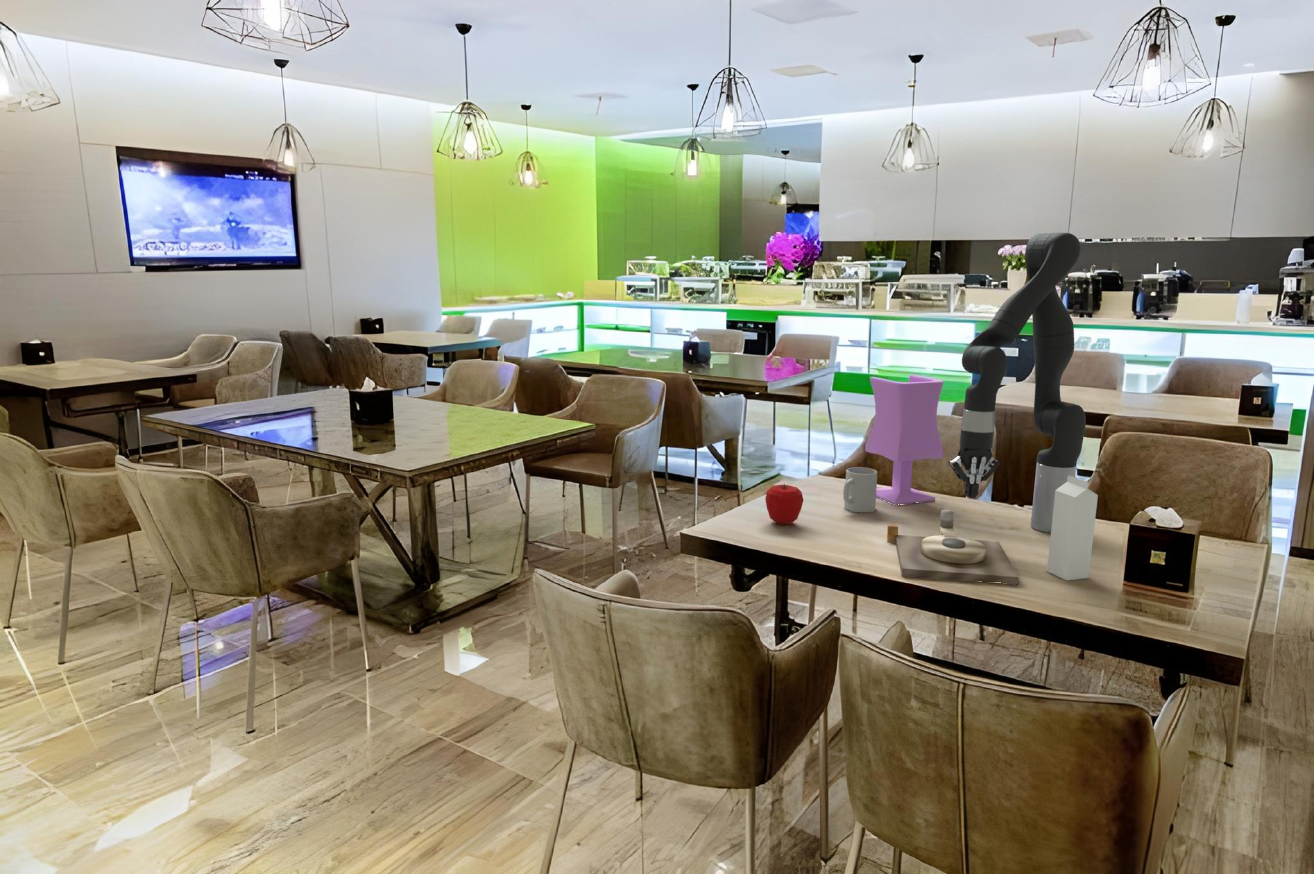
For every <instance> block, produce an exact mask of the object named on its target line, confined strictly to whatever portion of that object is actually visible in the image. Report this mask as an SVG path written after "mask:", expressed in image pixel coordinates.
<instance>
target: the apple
mask: <svg viewBox="0 0 1314 874" xmlns="http://www.w3.org/2000/svg"><path fill="white" fill-rule="evenodd" d="M764 500H765V505H766V510H767V514H768V515H769V518H770V519H771V521H773V522H774V523H775V524H777V525H791V524H792V523H794V522H795V521H796V520H798V518H799V515H800V513H801V511H802V507H803V503H804V497H803V492H802V491H801V490H800V489H799V487H797V486H793V485H789V484H785V483H784V484H776V485H772V486H770V487H769V488H768V489H767V490H766V494H765V499H764Z"/></svg>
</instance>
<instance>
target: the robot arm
mask: <svg viewBox="0 0 1314 874" xmlns="http://www.w3.org/2000/svg"><path fill="white" fill-rule="evenodd" d="M1024 250H1025V251H1024V259H1025V260H1024V261H1025V269H1026V270H1025V271H1026V274H1027V282H1026V283H1025V284H1024V285H1023V286H1022V287H1020V289H1018V290H1017V291H1015V293H1013V294H1012V295H1010V296H1009V297H1008V298H1007V299H1006V300H1005V301H1004V302H1003V303H1002V305H1001V306H1000V307H999V308H998V310H997V312H996V313H995V315H994V316H993V318H992V319H991V320H990V323H989V325H987V326H986V328H984V329H983V330H982V331H981V332H980V333H979V334H978V335H977V336H976V337H975V338H974V339H972V341H971V342H970V343H969V344H967V346H966V348H964V350H963V353H962V357H961V365H962V368H963V369H964V370H965V372H967V373H970V374H973V375H980V376H979V379H978V381H977V383H976V384H974V383H973V384H971V385H968V386H967V388H966V389H965V395H964V403H963V405H964V406H963V412H962V417H961V424H960V434H959V450H958V452H957V457H955V458H954V459H949V460H948V464H949V466H950V468H951V469H952V471H953V473H954V474H955V475H956V477H957V478H958V479H959V480H961V481H963V482H964V483H965V486H964V495H965V496H966V498H968V499H976V498H977V496H978V495H979V489H980V484H981V482H985V481H988V479H989V478H990V477H991V476H992V474H994V473H995V471H997V468H998V467H999V466H1000V465H1001V461H999V460H998V459H996V458H994V457H993V451H992V449H993V445H994V435H995V434H994V433H995V427H996V426H995V425H996V404H997V394H998V392H999V389H1000V387H1001V384H1002V381H1003V380H1004V377H1005V374H1006V371H1007V367H1008V358H1007V355H1006V352H1005V350H1004V349H1002V348H1001V347H1004V346H1009V345H1011V344H1013V343H1014V342H1015V341H1016V339H1017V338H1018V337H1019V335H1020V334H1021V333H1022V331H1023V329H1024V327H1025V326H1026V324H1027V322H1028V321H1029V320H1030V318H1031V317H1032V339H1033V341H1032V342H1033V343H1032V344H1033V355H1034V376H1035V377H1034V379H1035V380H1034V400H1033V401H1034V402H1033V422H1034V426H1035V428H1036V430H1037V432H1039V433H1040V434H1042V435H1044V436H1049V437H1052V438H1053V439H1052V440H1053V441H1052V445H1051V447H1049V448H1045V449H1042V450H1040V451H1038V453H1037V455H1036V456H1037V457H1036V467H1035V479H1034V485H1033V486H1034V488H1033V499H1032V508H1031V518H1030V527H1031V528H1032V529H1034V530H1036V531H1039V532H1044V533H1050V534H1051V528H1052V519H1053V509H1054V499H1055V490H1056V489H1058V488H1059V487H1061V486H1062V485H1063V484H1065V483H1066V482H1067V477H1068V476H1072V477H1075V478H1076V472H1077V464H1078V460H1079V458H1080V455H1081V452H1082V449H1083V442H1084V436H1085V431H1086V422H1087V420H1086V419H1087V418H1086V412H1085V411H1084V408H1083V407H1082V406H1080V405H1079V404H1075V403H1072V402H1067V401H1062V398H1061V379H1062V376H1063V374H1064V372H1065V371H1066V368H1067V367H1068V365H1069V363H1070V361H1071V359H1072V357H1073V354H1074V351H1075V330H1074V329H1075V327H1074V321H1073V319H1072V317H1071V315H1070V313H1069V311H1068V309H1067V308H1066V306H1065V304H1064V302H1063V300H1062V299H1061V297H1060V296H1059V293H1058V290H1057V285H1058V284H1059V283H1060V282H1061V281H1062V280H1063V279H1064V278H1065V277H1066V276H1067V274H1068V273H1069V272H1070V271H1071V270H1072V269H1073V268H1074V266H1075V265H1076V264H1077V262H1078V259H1079V257H1080V254H1081V244H1080V240H1079V239H1078V237H1077V236H1076V235H1075V234H1073V233H1070V232H1051V233H1050V232H1049V233H1047V232H1046V233H1045V232H1044V233H1036V234H1035V235H1033V236H1031V237H1030V239H1029V240H1028V241H1027V243H1026V246H1025V249H1024ZM962 467H963V469H962Z"/></svg>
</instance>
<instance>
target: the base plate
mask: <svg viewBox="0 0 1314 874" xmlns="http://www.w3.org/2000/svg"><path fill="white" fill-rule="evenodd" d="M886 531H887V533H886V540H887V543H895V547H896V552H897V558H898V564H899V569H900V573H901V577H908V578H922V579H934V580H936V579H937V580H946V579H948V580H949V581H960V582H972V581H982V582H981V583H985V582H1001V583H1007V584H1006V585H1011V584H1018V585H1019V575H1018V573H1017V572H1016V570H1015V568H1014V565H1013V564H1012V563H1011V561H1010V559H1009V558H1008V555H1007V554H1006V552H1005V550H1004V548H1003V547H1002V545H1001V543H1000V541H998V540H997V541H996V540H979V539H975V540H976V541H978V542H980V543H982V544H983V545H985V547H986V556H985V559H984V560H983V561H981V562H977V563H970V564H957V563H948V562H943V561H939V560H935V559H932V558H930V557H927V556H926V555H924V554H923V553H922V551H921V545H922V540H923V539H924V538H926V537H927V536H921V535H907V534H905V535H904V534H899V524H898V523H890V522H889V523H887V530H886Z"/></svg>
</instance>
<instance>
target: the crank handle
mask: <svg viewBox="0 0 1314 874" xmlns="http://www.w3.org/2000/svg"><path fill="white" fill-rule="evenodd" d="M954 517H955V511H954V510H951V509H941V510H940V520H939V525H938V527H939V528H938V529H939V530H938V535H931V536H925V537H926V538H924V539H923V540H922V545H921V551H922V553H923V554H924V555H926V556H927V557H930V558H932V559H935V560H939V561H943V562H948V563H957V564H970V563H977V562H981V561H983V560H984V559H985V556H986V547H985V545H983V544H982V543H980V542H978V541H976V540H977V539H972V538H970V537H964V536H959V535H957V534H956V532H955V531H956V530H955V529H954Z"/></svg>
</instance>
